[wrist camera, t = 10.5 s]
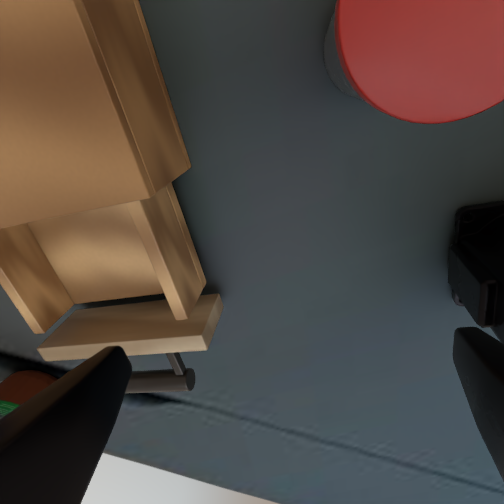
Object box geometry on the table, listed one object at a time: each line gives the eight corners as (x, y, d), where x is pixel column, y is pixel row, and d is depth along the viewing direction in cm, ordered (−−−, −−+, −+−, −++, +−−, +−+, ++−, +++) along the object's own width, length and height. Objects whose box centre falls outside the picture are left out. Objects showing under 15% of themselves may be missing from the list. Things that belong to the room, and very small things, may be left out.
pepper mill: (425, -34, 13) (639, -242, 5) (425, 86, 15) (577, 95, 7) (314, 2, 15) (323, -113, 6) (327, 110, 17) (349, 143, 8)
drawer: (240, 356, 25) (228, 404, 21) (108, 364, 28) (77, 407, 24) (162, 125, 17) (123, 137, 14) (-7, 170, 20) (-76, 189, 17)
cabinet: (192, 167, 19) (150, 198, 14) (18, 205, 22) (-67, 242, 17) (93, -144, 13) (-37, -279, 8) (-121, -32, 17) (-308, -81, 12)
